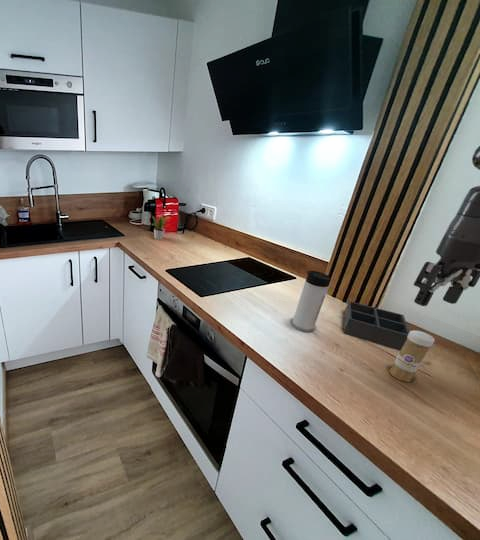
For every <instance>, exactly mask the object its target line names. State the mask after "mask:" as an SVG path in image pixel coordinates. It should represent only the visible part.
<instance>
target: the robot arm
mask: <svg viewBox="0 0 480 540" xmlns="http://www.w3.org/2000/svg"><path fill="white" fill-rule="evenodd" d="M471 163H472V165H473V166H474V168H475V169H477V170H479V171H480V145H479V146H478V147H477V148H476V149H475V150H474V152H473V154H472V156H471ZM435 253H436V255H438V256H439V257H440V258H439V260H438V261H437V262H436V263H434V262H430V261H426V262H425V263H424V264H423V266H422V268H421V270H420V272H419V273H418V275H417V277H416V278H415V281H414V282H413V286H414V287H417V288H419V290H418V293H417V294H416V296H415V298H414V299H413V301H414V303H415V304H416V305H418V306H421V307H427V306H428V305H429V303H430V301H431V299H432V297H433V295H434V294H435V292H436V291H437V290H438V289H439V288H440V287H445V286H446V285H447V284H449V283H450V285H449V286H448V288H447V290H446V292H445V294H444V296H443V298H442V301H443V302H446V303H448V304H451V305H453V304H457V302H458V301H459V299H460V297H461V296H462V295H463V292H464V291H466V290H467V289H469V287H470V288H474V287H476V285H477V284H478V282H479V279H480V185H476V186H473V187H472V188H470V189H469V190H468V191H467V193H466V195H465V196H464V198H463V201H462V202H461V204H460V205H459V207H458V210H457V212H456V214H455V215H454V217H453V218H452V220H451V221H450V222H449V224H448V226H447V228H446V230H445V233H444V234H443V236H442V239H441V240H440V242H439V244H438V246H437V248H436V250H435Z"/></svg>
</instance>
